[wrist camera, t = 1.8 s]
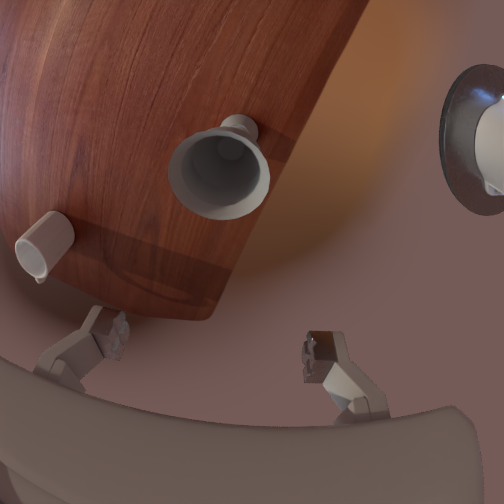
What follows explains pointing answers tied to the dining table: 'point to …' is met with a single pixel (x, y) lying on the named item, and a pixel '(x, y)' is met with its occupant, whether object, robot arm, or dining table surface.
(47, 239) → the mug
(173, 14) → the dining table surface
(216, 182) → the chalice
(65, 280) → the dining table surface
